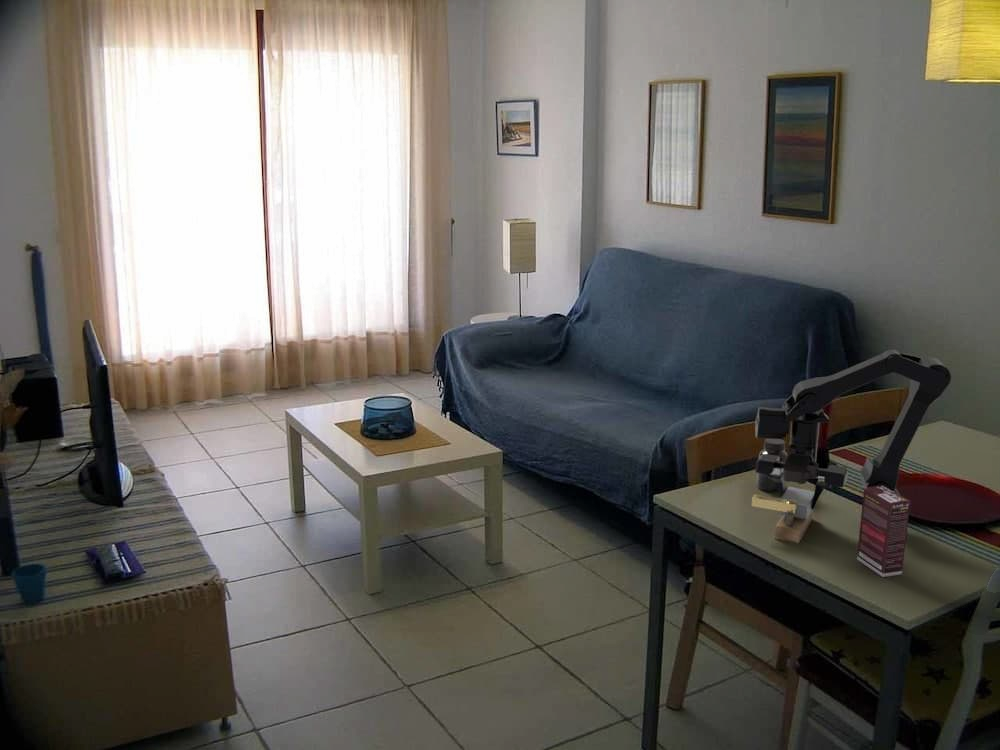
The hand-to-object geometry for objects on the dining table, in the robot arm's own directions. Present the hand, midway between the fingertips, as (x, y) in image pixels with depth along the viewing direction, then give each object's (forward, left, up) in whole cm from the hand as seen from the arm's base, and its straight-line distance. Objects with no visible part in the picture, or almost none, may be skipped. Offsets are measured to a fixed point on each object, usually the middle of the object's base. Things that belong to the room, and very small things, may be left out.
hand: (798, 506), depth 212 cm
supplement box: (-19, +13, -4) cm, 23 cm away
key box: (0, +3, -4) cm, 5 cm away
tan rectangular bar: (+3, +9, +2) cm, 10 cm away
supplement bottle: (+10, -18, -4) cm, 21 cm away
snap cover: (0, +2, 0) cm, 2 cm away
